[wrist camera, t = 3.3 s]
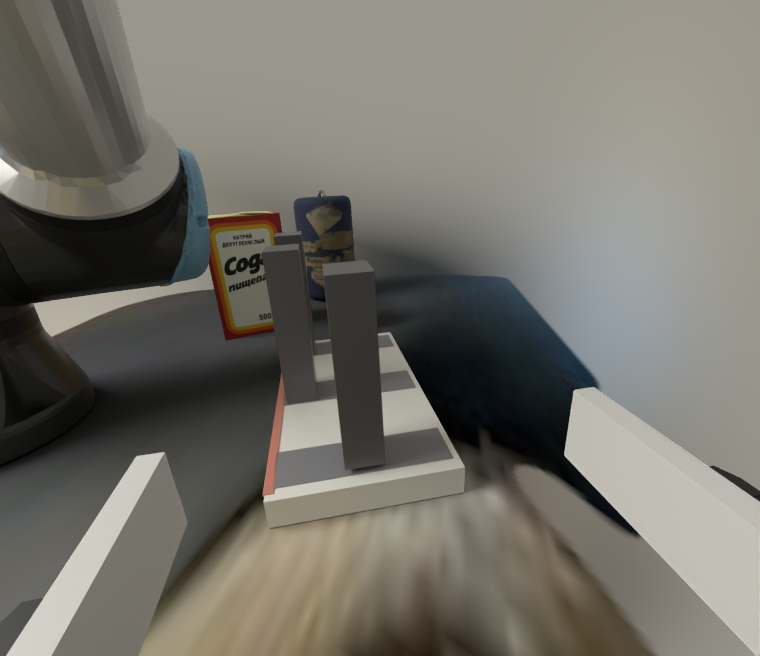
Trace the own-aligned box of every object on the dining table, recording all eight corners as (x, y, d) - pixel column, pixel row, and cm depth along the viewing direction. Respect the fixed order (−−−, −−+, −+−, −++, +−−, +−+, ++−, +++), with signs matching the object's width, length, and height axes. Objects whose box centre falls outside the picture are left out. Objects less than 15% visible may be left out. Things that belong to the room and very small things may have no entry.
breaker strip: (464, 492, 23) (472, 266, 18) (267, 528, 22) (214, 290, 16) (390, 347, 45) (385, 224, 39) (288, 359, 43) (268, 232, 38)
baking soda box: (225, 340, 50) (198, 216, 44) (222, 325, 55) (197, 213, 49) (295, 326, 53) (278, 209, 48) (285, 313, 59) (269, 208, 53)
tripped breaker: (385, 463, 23) (374, 271, 18) (345, 470, 22) (323, 275, 18) (377, 433, 26) (366, 260, 21) (341, 439, 25) (321, 264, 21)
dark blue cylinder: (302, 304, 63) (287, 192, 56) (307, 290, 72) (294, 191, 65) (358, 300, 63) (350, 188, 57) (356, 286, 72) (349, 188, 66)
